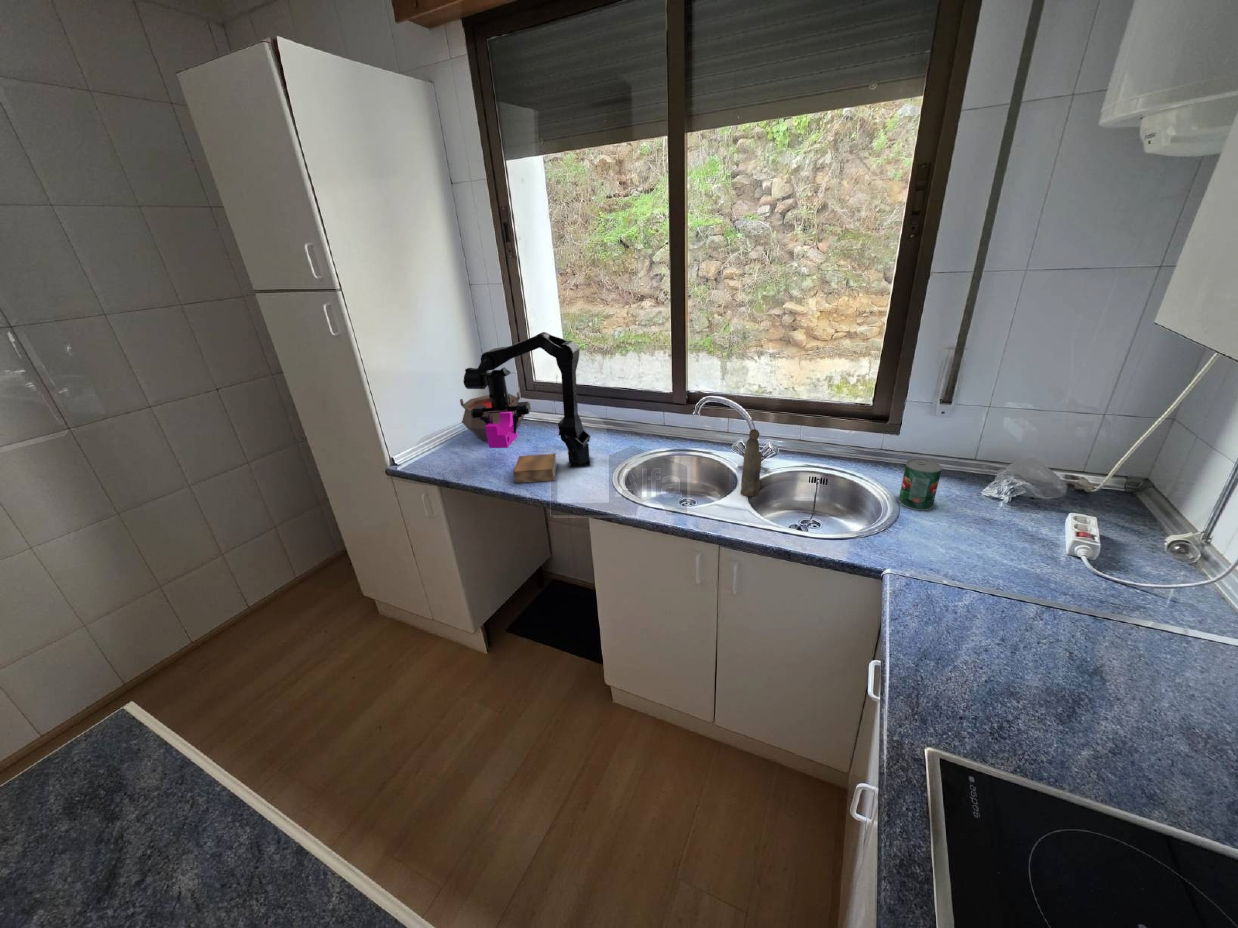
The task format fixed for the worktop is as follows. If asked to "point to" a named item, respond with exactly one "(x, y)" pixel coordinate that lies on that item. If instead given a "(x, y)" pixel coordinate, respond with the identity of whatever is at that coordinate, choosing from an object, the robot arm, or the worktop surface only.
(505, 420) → the toy block
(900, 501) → the canned tomato
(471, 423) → the brown faceted pot
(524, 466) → the plinth
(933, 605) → the worktop surface
